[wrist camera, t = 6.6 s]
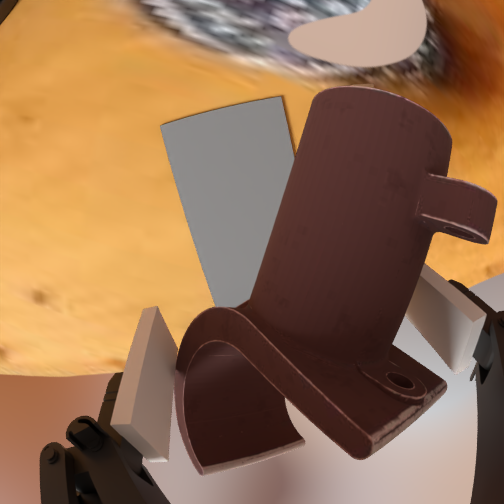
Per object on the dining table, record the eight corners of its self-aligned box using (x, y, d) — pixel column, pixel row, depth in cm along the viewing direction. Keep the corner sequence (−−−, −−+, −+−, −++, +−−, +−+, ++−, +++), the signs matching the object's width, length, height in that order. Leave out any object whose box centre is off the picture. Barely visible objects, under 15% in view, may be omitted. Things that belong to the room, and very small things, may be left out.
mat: (160, 125, 23) (159, 125, 23) (280, 96, 23) (280, 96, 23) (218, 311, 31) (218, 313, 31) (315, 286, 32) (315, 287, 31)
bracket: (157, 420, 14) (250, 567, 6) (246, 101, 11) (492, 73, 3) (244, 410, 17) (346, 514, 9) (335, 152, 15) (516, 180, 7)
